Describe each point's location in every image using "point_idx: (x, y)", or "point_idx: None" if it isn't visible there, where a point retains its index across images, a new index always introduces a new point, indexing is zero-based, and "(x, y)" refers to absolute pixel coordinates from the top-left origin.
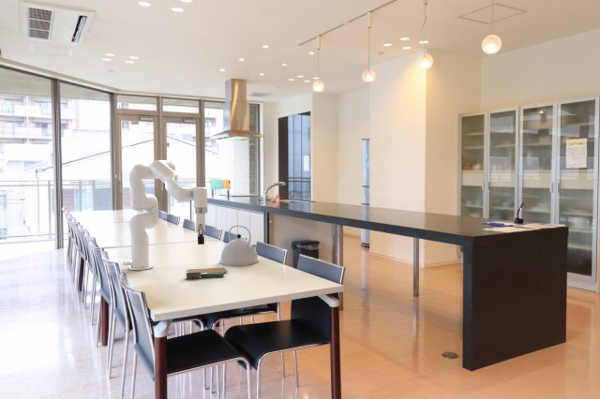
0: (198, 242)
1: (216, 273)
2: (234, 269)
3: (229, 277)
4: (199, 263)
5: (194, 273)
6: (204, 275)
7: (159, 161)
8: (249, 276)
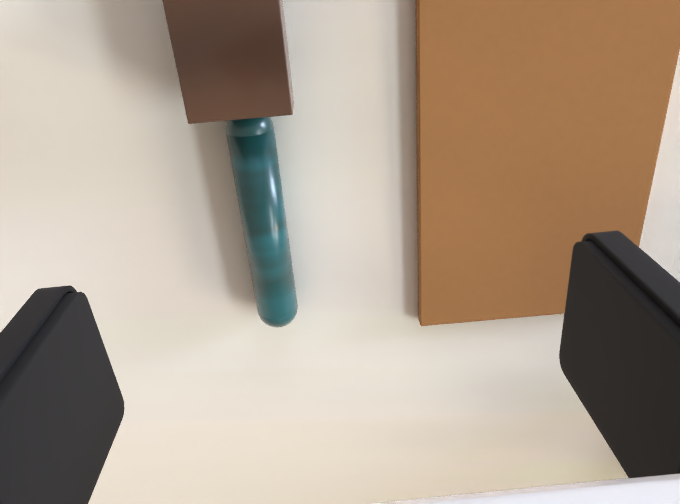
0: (25, 328)
1: (259, 273)
2: None
3: (255, 351)
4: None
5: (174, 48)
6: (231, 154)
7: None
8: (278, 471)
